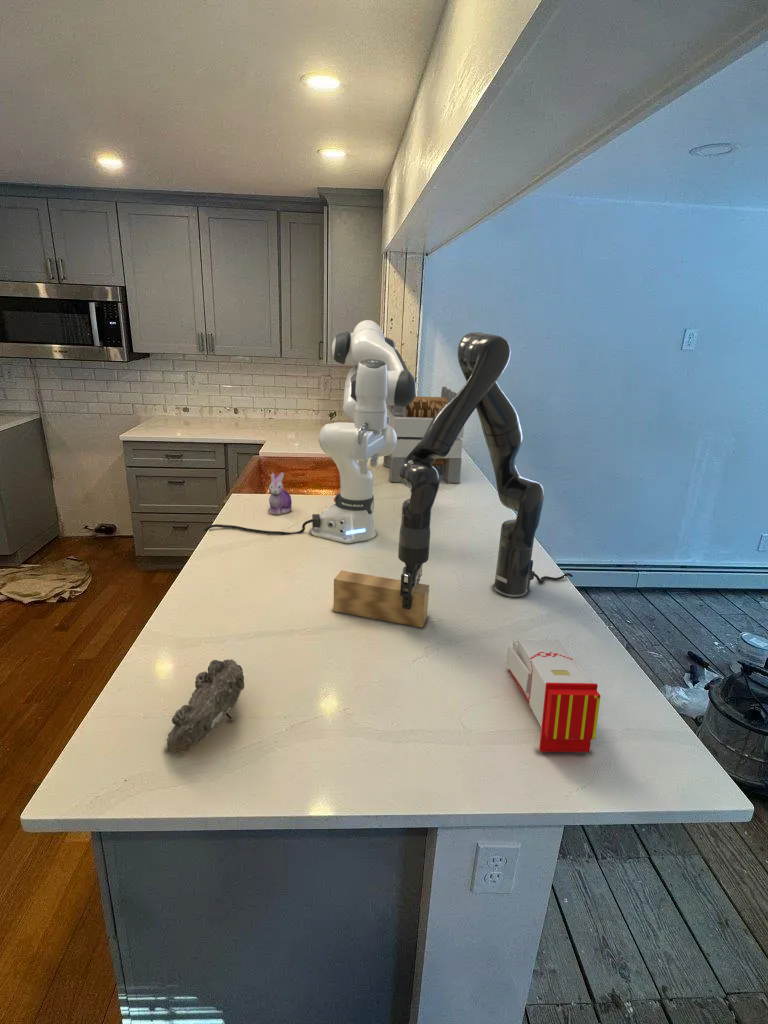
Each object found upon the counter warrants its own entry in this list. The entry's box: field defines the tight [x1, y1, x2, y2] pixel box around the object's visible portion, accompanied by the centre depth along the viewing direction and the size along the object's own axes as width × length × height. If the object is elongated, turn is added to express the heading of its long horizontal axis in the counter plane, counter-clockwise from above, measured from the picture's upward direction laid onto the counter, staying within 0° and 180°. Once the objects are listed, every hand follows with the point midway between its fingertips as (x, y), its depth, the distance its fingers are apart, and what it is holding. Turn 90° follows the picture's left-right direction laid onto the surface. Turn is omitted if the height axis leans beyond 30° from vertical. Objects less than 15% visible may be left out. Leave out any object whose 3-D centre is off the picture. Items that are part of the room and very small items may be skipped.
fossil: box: [166, 658, 245, 754], centre depth 106 cm, size 22×10×15 cm
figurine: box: [268, 471, 293, 515], centre depth 214 cm, size 9×10×15 cm
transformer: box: [383, 386, 465, 484], centre depth 268 cm, size 34×33×41 cm
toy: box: [505, 638, 602, 753], centre depth 114 cm, size 12×13×30 cm
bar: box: [333, 569, 430, 628], centre depth 145 cm, size 24×6×9 cm, turn 74°
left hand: (368, 469), depth 160 cm, fingers open, 8 cm apart
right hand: (410, 601), depth 143 cm, fingers open, 7 cm apart
